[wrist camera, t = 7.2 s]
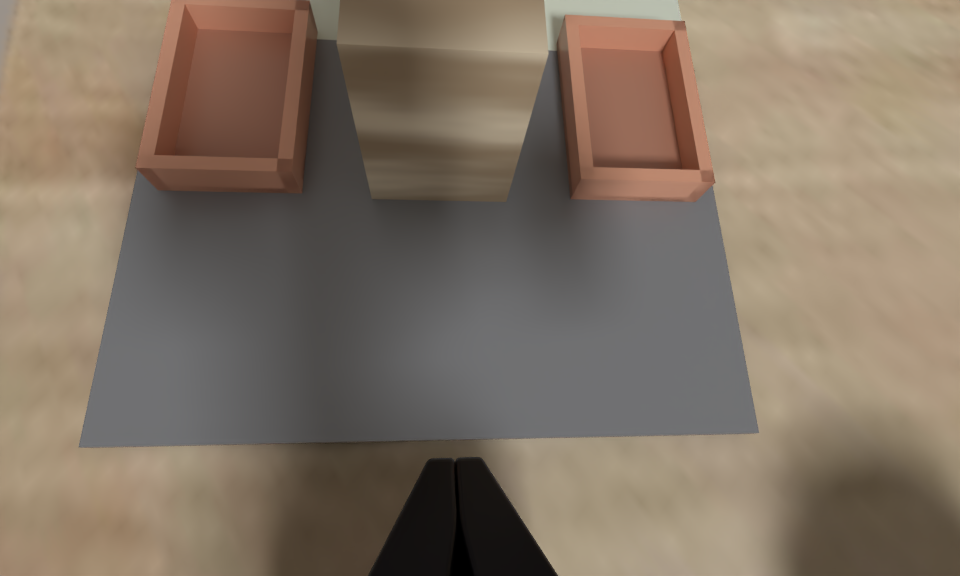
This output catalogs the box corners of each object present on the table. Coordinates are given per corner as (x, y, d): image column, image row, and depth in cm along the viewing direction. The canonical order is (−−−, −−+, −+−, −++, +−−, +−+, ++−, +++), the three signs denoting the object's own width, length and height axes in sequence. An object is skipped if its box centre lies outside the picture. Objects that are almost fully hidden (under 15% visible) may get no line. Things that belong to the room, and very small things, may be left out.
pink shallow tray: (695, 202, 24) (715, 182, 23) (570, 199, 24) (581, 179, 22) (668, 48, 27) (684, 21, 25) (556, 43, 27) (565, 14, 25)
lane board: (750, 433, 22) (791, 429, 19) (89, 447, 19) (39, 445, 17) (655, -83, 31) (675, -130, 29) (205, -116, 29) (184, -170, 26)
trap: (302, 193, 23) (291, 171, 21) (157, 190, 22) (135, 167, 20) (317, 31, 26) (309, 0, 24) (190, 24, 25) (172, -7, 23)
